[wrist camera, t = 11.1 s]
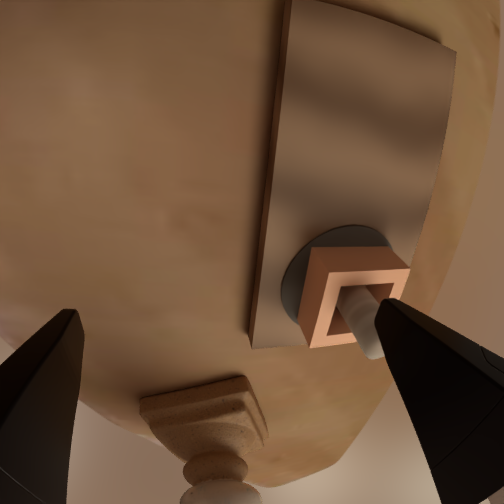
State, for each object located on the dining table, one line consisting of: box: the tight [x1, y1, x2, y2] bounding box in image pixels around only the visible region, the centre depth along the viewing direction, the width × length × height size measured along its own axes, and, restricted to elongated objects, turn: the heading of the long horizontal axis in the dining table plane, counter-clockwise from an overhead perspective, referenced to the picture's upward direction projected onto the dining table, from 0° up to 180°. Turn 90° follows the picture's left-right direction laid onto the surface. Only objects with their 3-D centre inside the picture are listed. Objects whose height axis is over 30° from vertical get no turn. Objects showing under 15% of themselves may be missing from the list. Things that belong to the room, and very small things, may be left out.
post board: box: [248, 0, 456, 359], centre depth 18 cm, size 24×12×8 cm, turn 175°
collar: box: [297, 246, 411, 348], centre depth 21 cm, size 6×6×3 cm
